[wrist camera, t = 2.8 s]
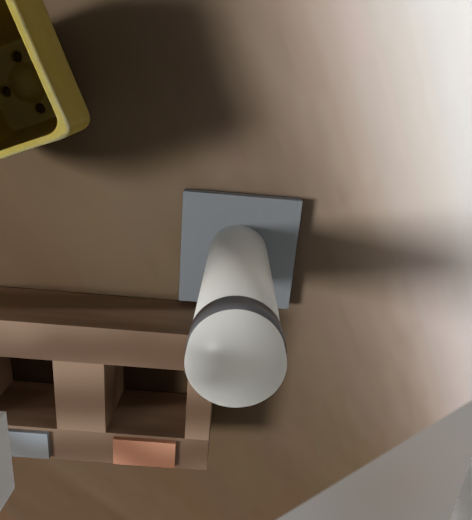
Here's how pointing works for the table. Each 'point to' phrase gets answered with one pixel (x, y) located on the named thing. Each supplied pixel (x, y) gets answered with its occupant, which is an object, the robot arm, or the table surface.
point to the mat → (238, 213)
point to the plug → (236, 324)
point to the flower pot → (35, 81)
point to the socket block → (99, 379)
